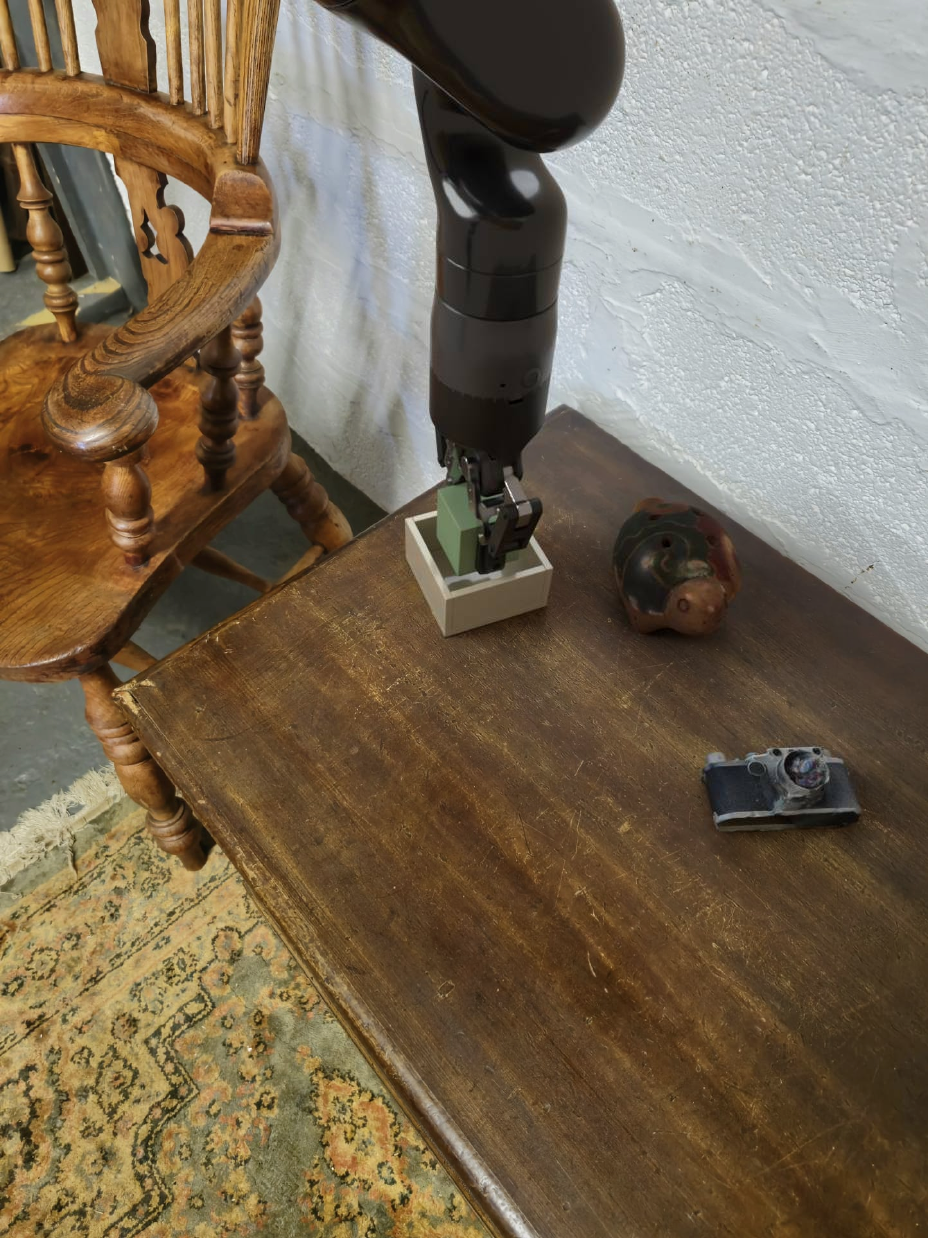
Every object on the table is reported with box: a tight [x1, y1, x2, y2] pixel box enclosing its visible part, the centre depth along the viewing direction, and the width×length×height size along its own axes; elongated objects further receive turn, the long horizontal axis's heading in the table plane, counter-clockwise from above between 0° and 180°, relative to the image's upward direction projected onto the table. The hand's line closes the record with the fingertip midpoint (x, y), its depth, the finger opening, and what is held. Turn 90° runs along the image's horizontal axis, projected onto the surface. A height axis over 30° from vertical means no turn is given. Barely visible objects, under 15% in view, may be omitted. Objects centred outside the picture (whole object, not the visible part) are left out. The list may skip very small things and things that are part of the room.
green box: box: [436, 482, 519, 577], centre depth 63 cm, size 5×4×5 cm
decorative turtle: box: [611, 496, 742, 636], centre depth 65 cm, size 10×15×8 cm, turn 12°
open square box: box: [404, 509, 554, 638], centre depth 66 cm, size 9×9×5 cm
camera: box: [699, 746, 863, 833], centre depth 56 cm, size 5×10×4 cm, turn 93°
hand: (476, 545), depth 65 cm, fingers closed on green box, 4 cm apart
